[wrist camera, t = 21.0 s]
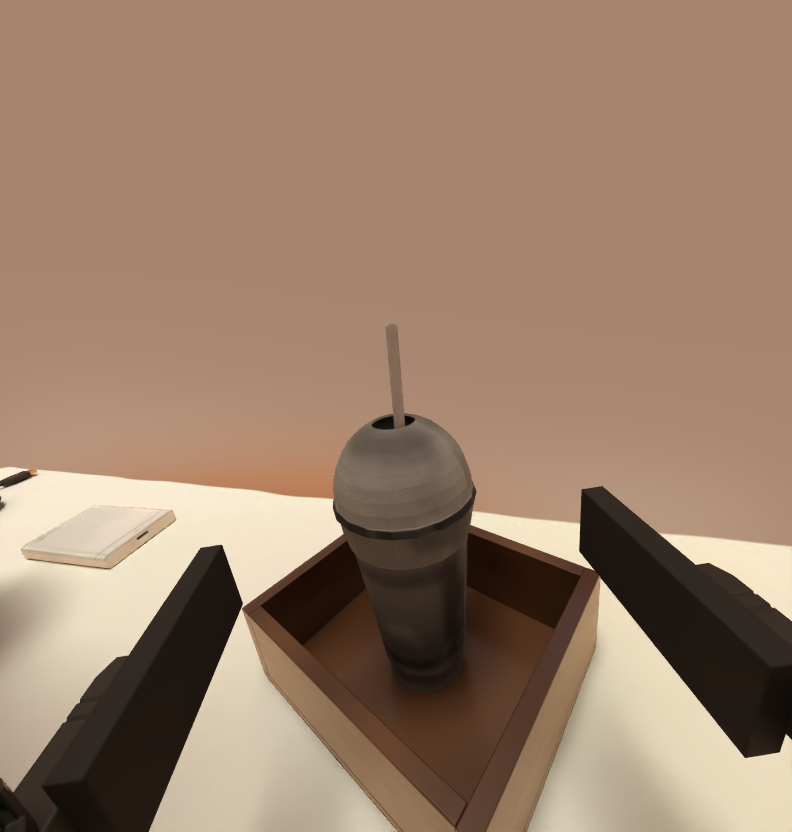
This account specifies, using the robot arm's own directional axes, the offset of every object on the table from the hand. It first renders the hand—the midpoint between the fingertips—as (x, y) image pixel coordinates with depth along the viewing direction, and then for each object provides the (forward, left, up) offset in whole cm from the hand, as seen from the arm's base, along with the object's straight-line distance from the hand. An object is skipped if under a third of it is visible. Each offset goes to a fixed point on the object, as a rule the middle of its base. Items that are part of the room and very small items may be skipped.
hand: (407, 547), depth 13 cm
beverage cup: (-4, +4, -13) cm, 14 cm away
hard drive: (-42, -6, -13) cm, 44 cm away
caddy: (-4, +4, -13) cm, 14 cm away
